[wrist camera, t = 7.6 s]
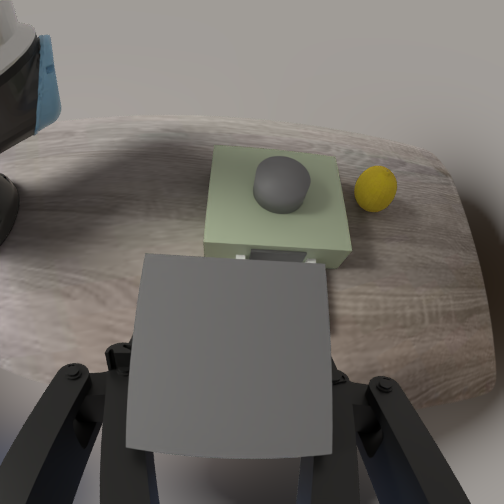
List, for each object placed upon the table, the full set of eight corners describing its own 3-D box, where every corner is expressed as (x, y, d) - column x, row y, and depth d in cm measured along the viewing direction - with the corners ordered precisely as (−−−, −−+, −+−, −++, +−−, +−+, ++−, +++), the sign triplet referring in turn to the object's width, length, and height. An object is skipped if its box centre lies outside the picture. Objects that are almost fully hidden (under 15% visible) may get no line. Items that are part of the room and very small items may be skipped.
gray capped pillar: (265, 423, 17) (331, 453, 6) (182, 419, 16) (125, 447, 6) (266, 343, 19) (325, 263, 9) (187, 339, 19) (145, 253, 8)
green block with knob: (342, 332, 34) (373, 314, 27) (200, 329, 33) (195, 310, 25) (324, 179, 44) (342, 141, 37) (213, 170, 42) (214, 127, 35)
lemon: (371, 189, 44) (393, 154, 37) (386, 220, 42) (413, 187, 35) (340, 192, 43) (360, 155, 36) (355, 224, 41) (380, 190, 34)
